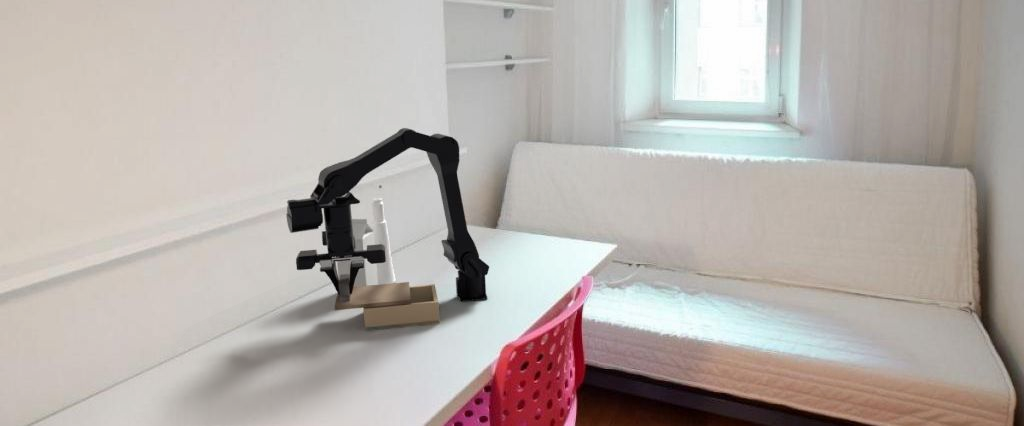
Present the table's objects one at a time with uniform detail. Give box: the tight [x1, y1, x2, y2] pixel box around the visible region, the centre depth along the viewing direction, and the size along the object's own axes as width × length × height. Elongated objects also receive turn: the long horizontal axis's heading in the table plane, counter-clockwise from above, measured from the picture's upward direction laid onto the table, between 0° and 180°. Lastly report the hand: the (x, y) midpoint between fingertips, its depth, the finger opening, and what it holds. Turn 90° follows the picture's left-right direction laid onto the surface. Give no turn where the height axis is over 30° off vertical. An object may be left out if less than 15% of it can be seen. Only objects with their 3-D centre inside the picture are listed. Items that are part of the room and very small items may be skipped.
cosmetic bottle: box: [371, 197, 397, 285], centre depth 184 cm, size 6×6×22 cm
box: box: [362, 283, 441, 332], centre depth 161 cm, size 16×12×5 cm
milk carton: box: [336, 218, 378, 287], centre depth 176 cm, size 7×7×19 cm
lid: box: [334, 274, 411, 311], centre depth 159 cm, size 16×12×5 cm
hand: (345, 294), depth 159 cm, fingers closed on lid, 2 cm apart
